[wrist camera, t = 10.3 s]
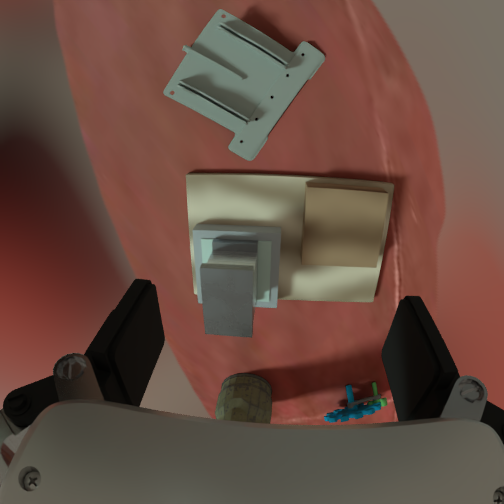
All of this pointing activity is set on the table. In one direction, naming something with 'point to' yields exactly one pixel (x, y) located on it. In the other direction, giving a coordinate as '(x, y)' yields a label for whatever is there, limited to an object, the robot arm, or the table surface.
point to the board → (291, 222)
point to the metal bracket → (241, 79)
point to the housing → (230, 287)
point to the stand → (342, 224)
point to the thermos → (245, 399)
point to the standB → (266, 255)
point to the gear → (357, 406)
